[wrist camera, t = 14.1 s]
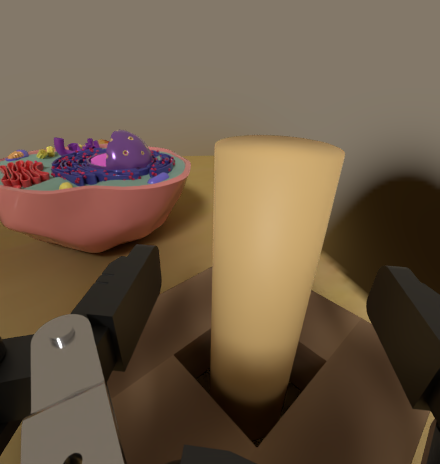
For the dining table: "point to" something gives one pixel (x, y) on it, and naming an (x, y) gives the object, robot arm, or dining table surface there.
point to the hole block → (302, 376)
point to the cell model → (91, 191)
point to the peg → (264, 266)
